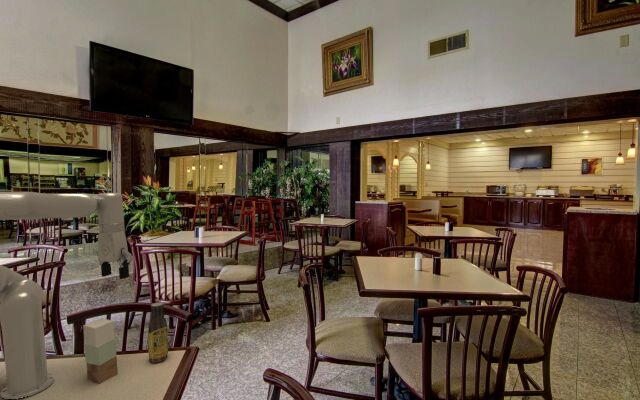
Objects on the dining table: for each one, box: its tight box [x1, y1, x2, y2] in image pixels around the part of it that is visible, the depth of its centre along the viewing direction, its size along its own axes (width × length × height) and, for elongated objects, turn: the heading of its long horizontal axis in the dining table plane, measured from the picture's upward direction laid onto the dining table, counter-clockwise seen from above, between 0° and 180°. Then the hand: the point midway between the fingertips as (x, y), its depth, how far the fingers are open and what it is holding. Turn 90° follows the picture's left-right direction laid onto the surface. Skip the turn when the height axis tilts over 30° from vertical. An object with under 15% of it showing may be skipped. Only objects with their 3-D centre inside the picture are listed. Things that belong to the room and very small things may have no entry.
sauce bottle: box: [147, 302, 169, 364], centre depth 120 cm, size 6×6×20 cm
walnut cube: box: [86, 355, 119, 385], centre depth 110 cm, size 6×6×6 cm
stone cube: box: [82, 318, 116, 347], centre depth 109 cm, size 6×6×6 cm
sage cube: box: [84, 338, 117, 365], centre depth 109 cm, size 6×6×6 cm
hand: (115, 276), depth 118 cm, fingers open, 9 cm apart
